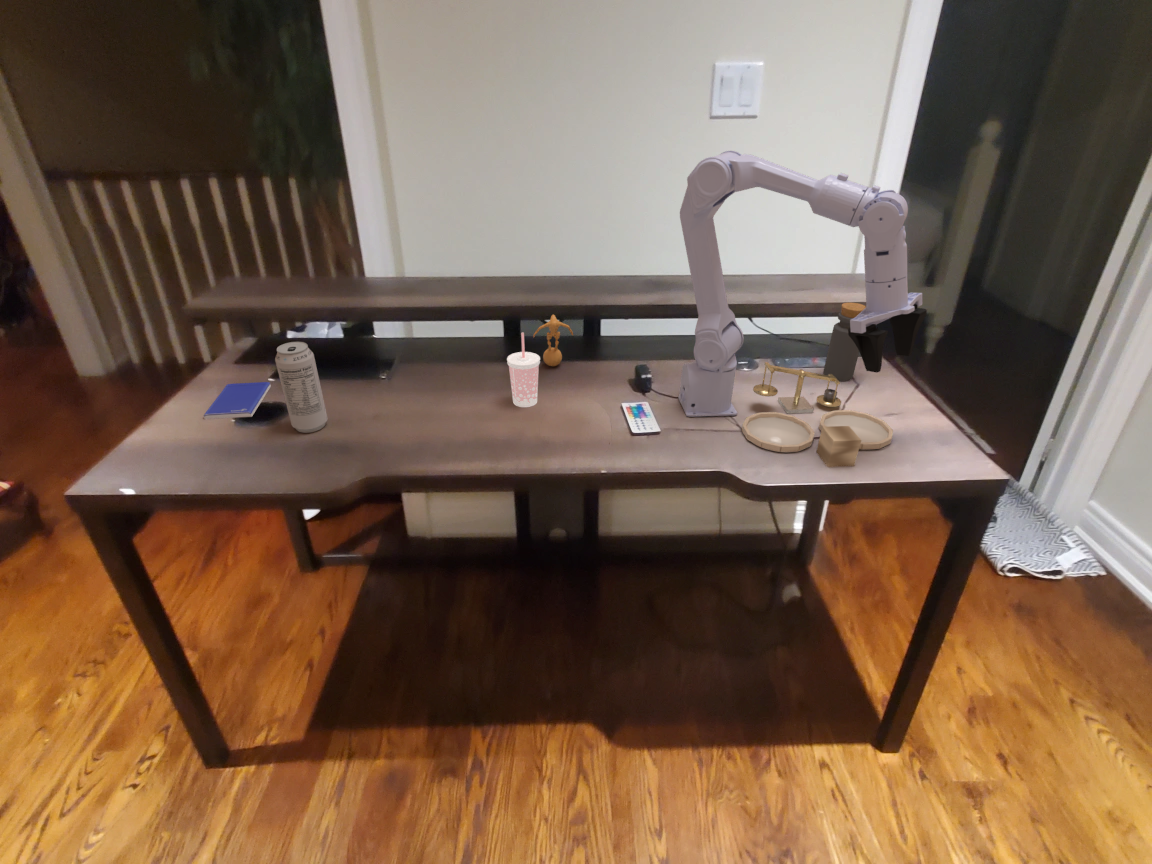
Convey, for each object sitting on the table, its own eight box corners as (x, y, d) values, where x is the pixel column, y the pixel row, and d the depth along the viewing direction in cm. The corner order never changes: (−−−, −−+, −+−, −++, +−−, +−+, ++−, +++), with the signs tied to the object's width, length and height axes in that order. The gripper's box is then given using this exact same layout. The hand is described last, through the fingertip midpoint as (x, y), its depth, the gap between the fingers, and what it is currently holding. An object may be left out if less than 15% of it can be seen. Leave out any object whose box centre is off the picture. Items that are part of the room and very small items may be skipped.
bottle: (854, 382, 130) (872, 312, 122) (824, 380, 131) (840, 310, 123) (850, 370, 135) (867, 302, 127) (821, 368, 136) (836, 300, 128)
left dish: (754, 454, 106) (755, 447, 106) (734, 419, 116) (735, 413, 116) (823, 452, 107) (824, 445, 106) (797, 417, 117) (798, 411, 117)
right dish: (836, 451, 107) (837, 445, 107) (809, 417, 117) (810, 411, 117) (903, 449, 108) (905, 442, 107) (871, 415, 118) (872, 409, 117)
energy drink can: (331, 416, 116) (314, 339, 109) (325, 432, 111) (307, 353, 103) (296, 418, 115) (277, 341, 108) (289, 435, 110) (268, 355, 103)
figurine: (570, 360, 138) (570, 307, 132) (574, 372, 133) (575, 317, 127) (532, 362, 137) (530, 309, 131) (535, 374, 132) (533, 319, 126)
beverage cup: (547, 401, 122) (546, 332, 115) (524, 412, 118) (521, 342, 111) (525, 391, 125) (523, 323, 118) (502, 401, 122) (498, 332, 114)
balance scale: (755, 414, 118) (762, 372, 114) (746, 401, 122) (753, 360, 118) (844, 411, 119) (855, 369, 115) (833, 399, 123) (843, 358, 119)
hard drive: (250, 411, 115) (269, 381, 126) (202, 414, 114) (226, 383, 125) (252, 419, 116) (271, 388, 127) (205, 421, 115) (228, 390, 126)
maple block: (827, 467, 103) (833, 441, 101) (816, 452, 107) (822, 426, 105) (854, 466, 104) (861, 440, 101) (842, 451, 108) (849, 425, 105)
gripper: (878, 292, 89) (882, 382, 95) (941, 265, 95) (941, 351, 100) (836, 290, 95) (841, 375, 100) (897, 264, 101) (900, 345, 106)
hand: (888, 362), depth 101 cm, fingers open, 7 cm apart
